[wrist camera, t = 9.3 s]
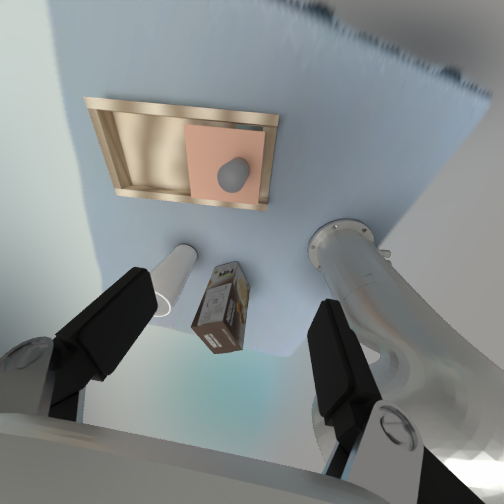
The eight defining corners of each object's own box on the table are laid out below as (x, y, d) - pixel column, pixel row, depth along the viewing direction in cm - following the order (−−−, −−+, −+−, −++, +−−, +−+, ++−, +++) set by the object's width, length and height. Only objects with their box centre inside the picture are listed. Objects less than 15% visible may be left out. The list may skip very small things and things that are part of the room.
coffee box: (213, 267, 43) (187, 326, 29) (237, 260, 41) (222, 320, 28) (229, 293, 47) (213, 355, 34) (251, 288, 46) (244, 351, 32)
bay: (277, 117, 26) (279, 114, 23) (266, 203, 33) (266, 211, 30) (106, 101, 27) (83, 96, 24) (131, 189, 34) (116, 195, 31)
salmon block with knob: (265, 132, 26) (264, 130, 16) (259, 193, 31) (255, 220, 21) (199, 126, 27) (157, 120, 17) (203, 188, 32) (173, 212, 22)
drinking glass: (166, 247, 41) (120, 296, 28) (188, 235, 39) (149, 283, 26) (185, 268, 44) (151, 321, 31) (206, 258, 42) (180, 311, 29)
